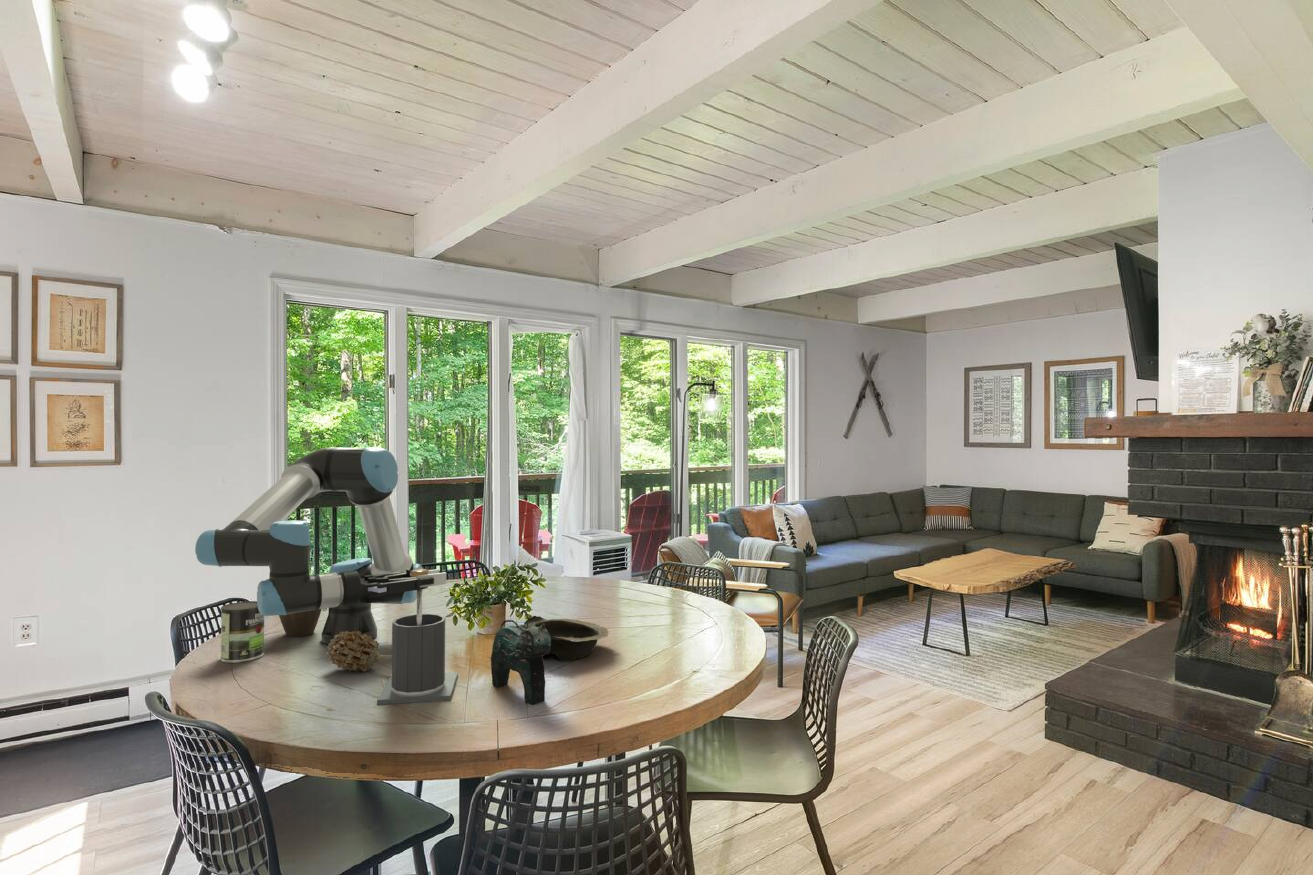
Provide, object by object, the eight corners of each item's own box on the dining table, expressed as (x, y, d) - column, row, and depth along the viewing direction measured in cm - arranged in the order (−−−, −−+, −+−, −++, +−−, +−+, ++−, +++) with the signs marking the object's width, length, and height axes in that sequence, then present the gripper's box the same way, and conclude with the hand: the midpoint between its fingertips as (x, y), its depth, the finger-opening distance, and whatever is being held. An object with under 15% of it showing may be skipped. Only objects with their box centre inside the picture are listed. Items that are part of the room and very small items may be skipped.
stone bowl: (501, 657, 188) (503, 622, 188) (555, 640, 210) (556, 610, 210) (576, 671, 176) (577, 634, 177) (625, 652, 198) (626, 619, 199)
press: (391, 679, 170) (391, 611, 170) (457, 675, 173) (458, 608, 173) (376, 704, 154) (377, 628, 154) (450, 699, 157) (451, 626, 157)
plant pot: (311, 641, 201) (311, 586, 201) (261, 640, 201) (261, 586, 201) (336, 627, 216) (336, 576, 216) (289, 626, 216) (289, 575, 216)
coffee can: (273, 652, 190) (273, 601, 190) (244, 664, 180) (244, 610, 180) (241, 649, 193) (242, 599, 193) (210, 661, 182) (211, 608, 182)
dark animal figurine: (553, 702, 157) (554, 615, 157) (529, 709, 152) (530, 620, 152) (506, 679, 171) (507, 599, 171) (483, 686, 166) (483, 603, 166)
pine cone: (316, 675, 173) (317, 635, 173) (338, 662, 182) (338, 625, 182) (399, 679, 170) (400, 639, 170) (417, 666, 180) (417, 628, 180)
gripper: (328, 599, 157) (428, 585, 172) (349, 614, 144) (456, 598, 159) (328, 566, 157) (428, 556, 172) (350, 578, 144) (456, 566, 159)
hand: (441, 576), depth 166 cm, fingers closed on plunger, 4 cm apart
